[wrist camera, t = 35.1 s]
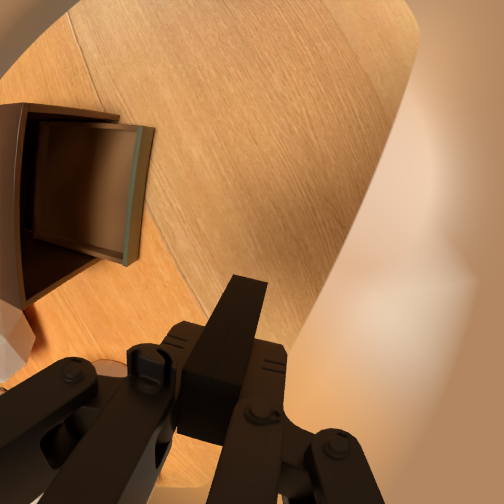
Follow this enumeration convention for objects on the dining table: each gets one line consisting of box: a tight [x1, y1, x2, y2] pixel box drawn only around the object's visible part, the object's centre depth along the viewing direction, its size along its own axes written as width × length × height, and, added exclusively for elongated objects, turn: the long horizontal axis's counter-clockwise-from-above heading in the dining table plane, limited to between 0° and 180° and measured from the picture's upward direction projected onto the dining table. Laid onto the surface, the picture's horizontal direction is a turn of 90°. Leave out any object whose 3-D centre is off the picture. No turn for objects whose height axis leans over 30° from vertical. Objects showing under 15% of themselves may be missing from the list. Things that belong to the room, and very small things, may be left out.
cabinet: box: [0, 103, 120, 311], centre depth 26 cm, size 16×17×15 cm
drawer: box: [33, 121, 154, 267], centre depth 31 cm, size 15×15×3 cm
